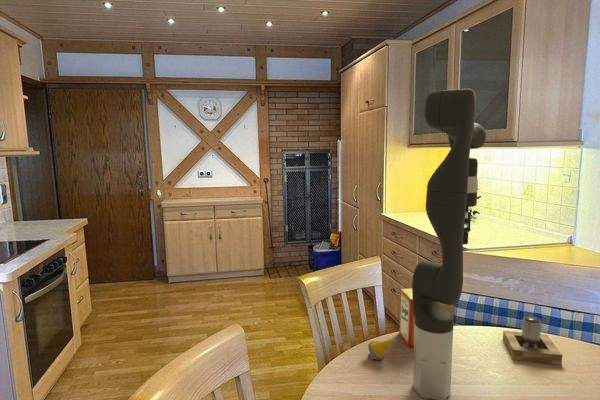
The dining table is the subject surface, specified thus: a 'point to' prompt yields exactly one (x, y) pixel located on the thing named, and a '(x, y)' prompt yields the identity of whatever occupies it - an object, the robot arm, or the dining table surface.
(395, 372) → the dining table surface
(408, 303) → the baking soda box
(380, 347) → the yellow cone tip
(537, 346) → the metal tea canister
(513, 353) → the frame
